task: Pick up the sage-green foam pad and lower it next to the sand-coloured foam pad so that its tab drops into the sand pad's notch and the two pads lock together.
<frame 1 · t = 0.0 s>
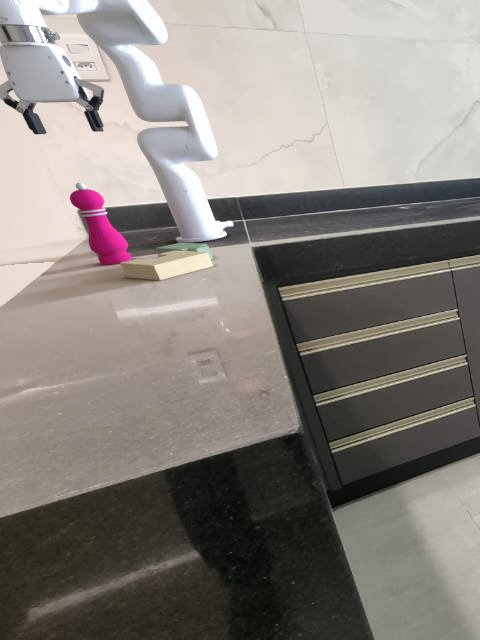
hand: (70, 132, 111), 31 cm above the counter, tool pointing down, fingers open, 9 cm apart
sand pad: (171, 271, 127), on the counter
pepper mill: (117, 262, 139), on the counter
sage pad: (186, 259, 139), on the counter
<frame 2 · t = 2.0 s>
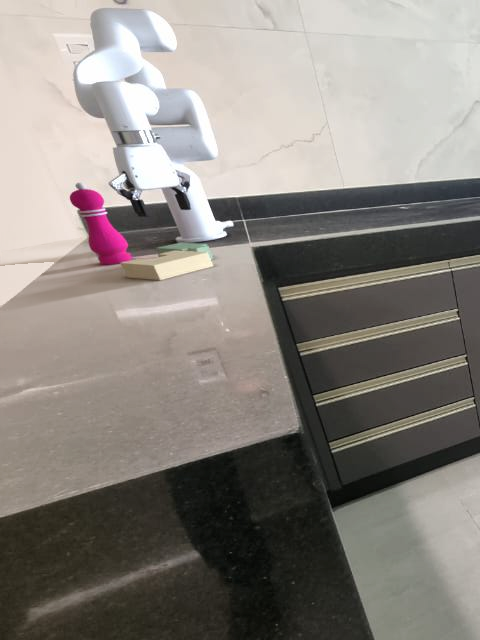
hand: (165, 213, 133), 12 cm above the counter, tool pointing down, fingers open, 9 cm apart
nothing on the counter moved.
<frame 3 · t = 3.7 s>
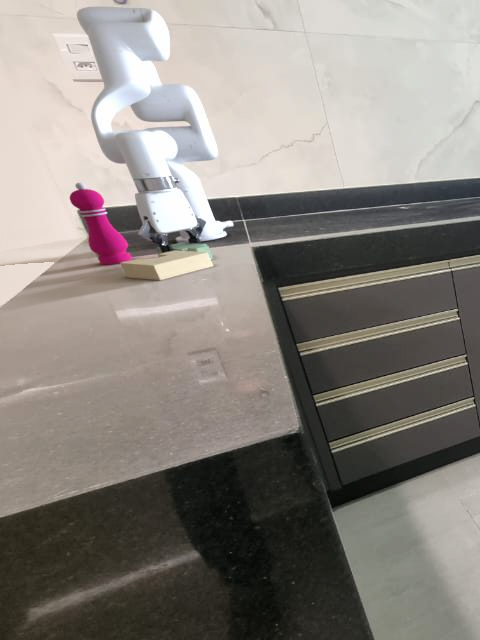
hand: (185, 256, 138), 1 cm above the counter, tool pointing down, fingers closed on sage pad, 6 cm apart
sage pad: (186, 259, 139), on the counter, touching gripper
everything else where it was.
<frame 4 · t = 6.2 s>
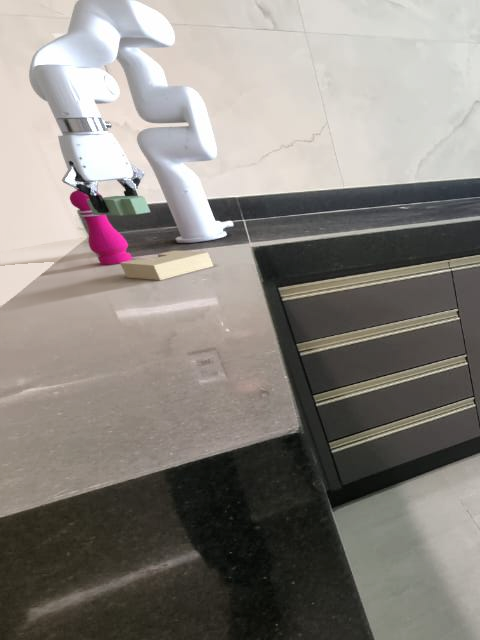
hand: (120, 209, 125), 14 cm above the counter, tool pointing down, fingers closed on sage pad, 6 cm apart
sage pad: (121, 212, 126), point 13 cm above the counter, touching gripper
everything else where it was.
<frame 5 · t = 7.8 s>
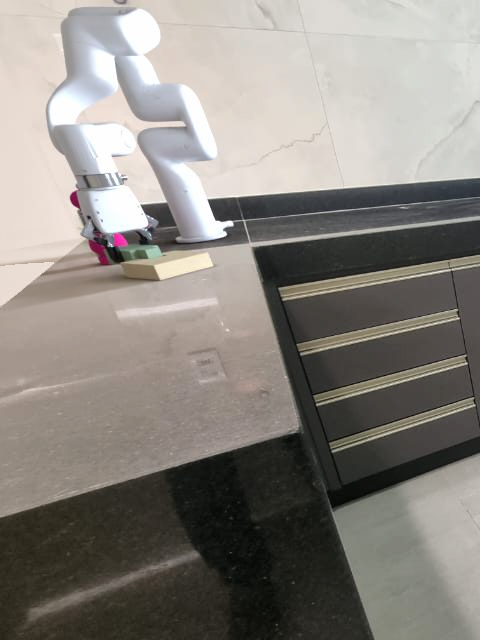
hand: (135, 258, 129), 3 cm above the counter, tool pointing down, fingers closed on sage pad, 6 cm apart
sage pad: (136, 261, 130), point 2 cm above the counter, touching gripper
everything else where it was.
when the fingers open (1 cm above the counter, at t = 8.9 s): sage pad stays where it is, on the counter.
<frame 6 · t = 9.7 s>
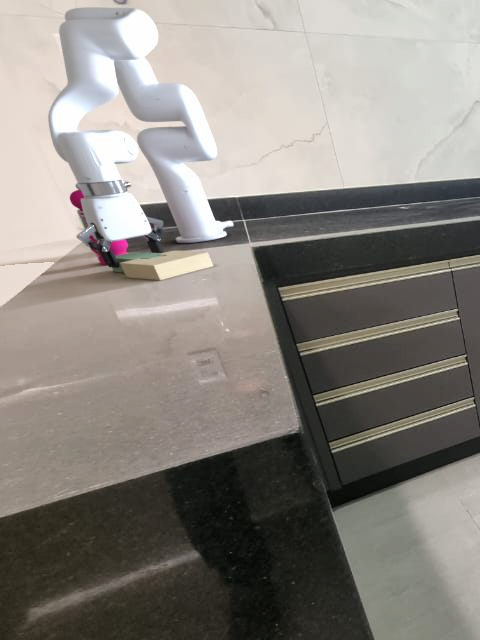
hand: (137, 261, 130), 2 cm above the counter, tool pointing down, fingers open, 9 cm apart
sage pad: (140, 269, 131), on the counter
everything else where it was.
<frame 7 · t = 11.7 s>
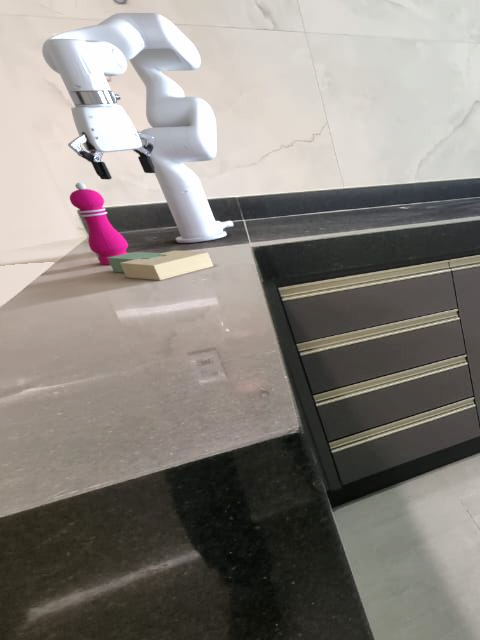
hand: (129, 175, 132), 21 cm above the counter, tool pointing down, fingers open, 9 cm apart
nothing on the counter moved.
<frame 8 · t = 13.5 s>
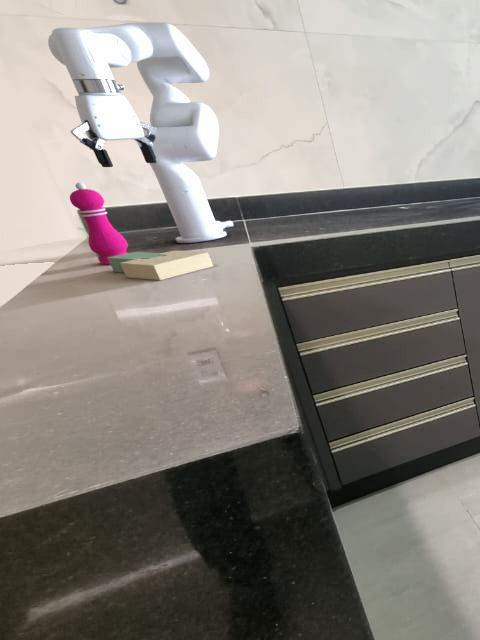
hand: (130, 164, 133), 23 cm above the counter, tool pointing down, fingers open, 9 cm apart
nothing on the counter moved.
at the end: sage pad 0.4 cm from the target spot on the counter beside the sand pad, on the counter; sage pad tilted 0°; the gripper is holding nothing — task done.
